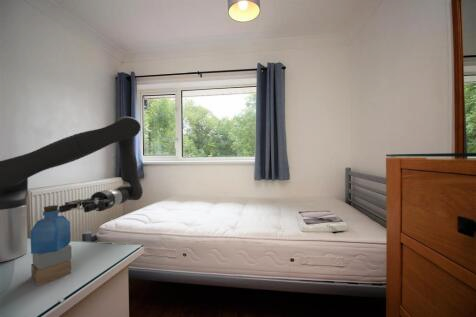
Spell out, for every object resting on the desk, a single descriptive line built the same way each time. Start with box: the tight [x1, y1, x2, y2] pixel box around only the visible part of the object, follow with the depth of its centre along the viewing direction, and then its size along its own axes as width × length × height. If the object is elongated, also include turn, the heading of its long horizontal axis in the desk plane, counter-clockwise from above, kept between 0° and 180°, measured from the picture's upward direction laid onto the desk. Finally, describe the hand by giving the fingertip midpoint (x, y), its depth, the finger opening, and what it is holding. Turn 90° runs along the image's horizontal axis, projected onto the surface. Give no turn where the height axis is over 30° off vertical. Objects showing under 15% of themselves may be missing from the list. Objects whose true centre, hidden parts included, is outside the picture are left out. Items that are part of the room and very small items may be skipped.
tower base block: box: [30, 260, 72, 286], centre depth 59 cm, size 7×7×4 cm
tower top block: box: [31, 243, 73, 270], centre depth 60 cm, size 7×7×4 cm
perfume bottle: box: [30, 204, 71, 255], centre depth 60 cm, size 6×6×12 cm
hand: (72, 209), depth 67 cm, fingers open, 8 cm apart
